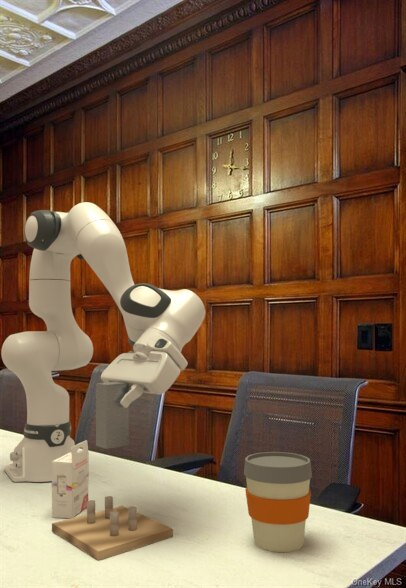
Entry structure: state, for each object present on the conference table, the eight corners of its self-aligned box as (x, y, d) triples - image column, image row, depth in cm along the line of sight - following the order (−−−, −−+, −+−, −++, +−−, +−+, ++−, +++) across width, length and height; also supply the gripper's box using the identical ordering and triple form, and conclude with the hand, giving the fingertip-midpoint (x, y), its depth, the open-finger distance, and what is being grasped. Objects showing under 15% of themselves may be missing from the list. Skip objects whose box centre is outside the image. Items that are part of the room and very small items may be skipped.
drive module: (95, 445, 104) (96, 383, 105) (118, 442, 108) (118, 381, 109) (106, 448, 101) (106, 384, 102) (128, 445, 105) (128, 383, 106)
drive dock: (51, 531, 105) (52, 502, 105) (121, 512, 115) (121, 486, 116) (98, 560, 91) (98, 527, 92) (172, 536, 102) (172, 506, 102)
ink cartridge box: (68, 504, 121) (69, 438, 122) (89, 506, 120) (89, 439, 121) (50, 517, 113) (51, 446, 114) (72, 519, 112) (73, 447, 113)
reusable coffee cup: (326, 551, 95) (324, 464, 96) (260, 560, 91) (259, 470, 92) (294, 526, 107) (293, 449, 108) (234, 533, 103) (234, 454, 104)
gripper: (119, 341, 119) (78, 389, 112) (175, 342, 104) (132, 398, 96) (135, 361, 122) (97, 409, 115) (193, 364, 106) (153, 420, 99)
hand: (114, 404), depth 105 cm, fingers closed on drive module, 4 cm apart
